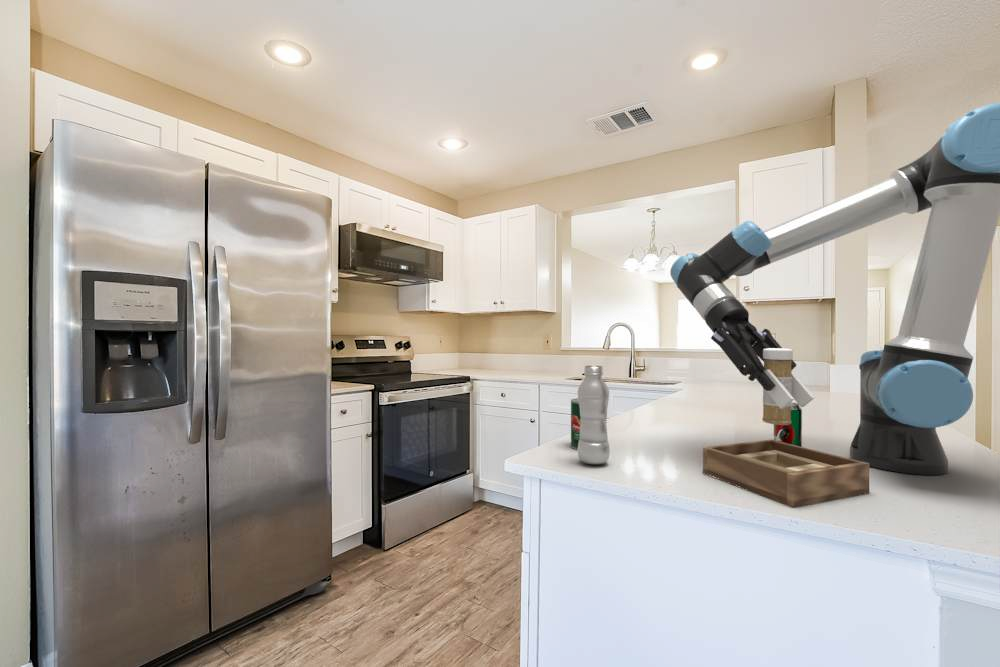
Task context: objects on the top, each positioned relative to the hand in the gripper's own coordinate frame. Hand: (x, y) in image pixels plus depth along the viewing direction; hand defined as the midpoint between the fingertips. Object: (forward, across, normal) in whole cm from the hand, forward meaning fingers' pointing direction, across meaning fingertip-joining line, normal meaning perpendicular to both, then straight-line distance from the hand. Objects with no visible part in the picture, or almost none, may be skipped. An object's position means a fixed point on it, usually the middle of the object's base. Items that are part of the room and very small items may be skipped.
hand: (797, 402), depth 78 cm
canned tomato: (-15, +19, -37) cm, 44 cm away
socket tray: (+8, 0, -13) cm, 15 cm away
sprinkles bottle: (0, 0, -6) cm, 6 cm away
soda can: (+1, -15, -20) cm, 25 cm away
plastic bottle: (-7, +25, -29) cm, 38 cm away
